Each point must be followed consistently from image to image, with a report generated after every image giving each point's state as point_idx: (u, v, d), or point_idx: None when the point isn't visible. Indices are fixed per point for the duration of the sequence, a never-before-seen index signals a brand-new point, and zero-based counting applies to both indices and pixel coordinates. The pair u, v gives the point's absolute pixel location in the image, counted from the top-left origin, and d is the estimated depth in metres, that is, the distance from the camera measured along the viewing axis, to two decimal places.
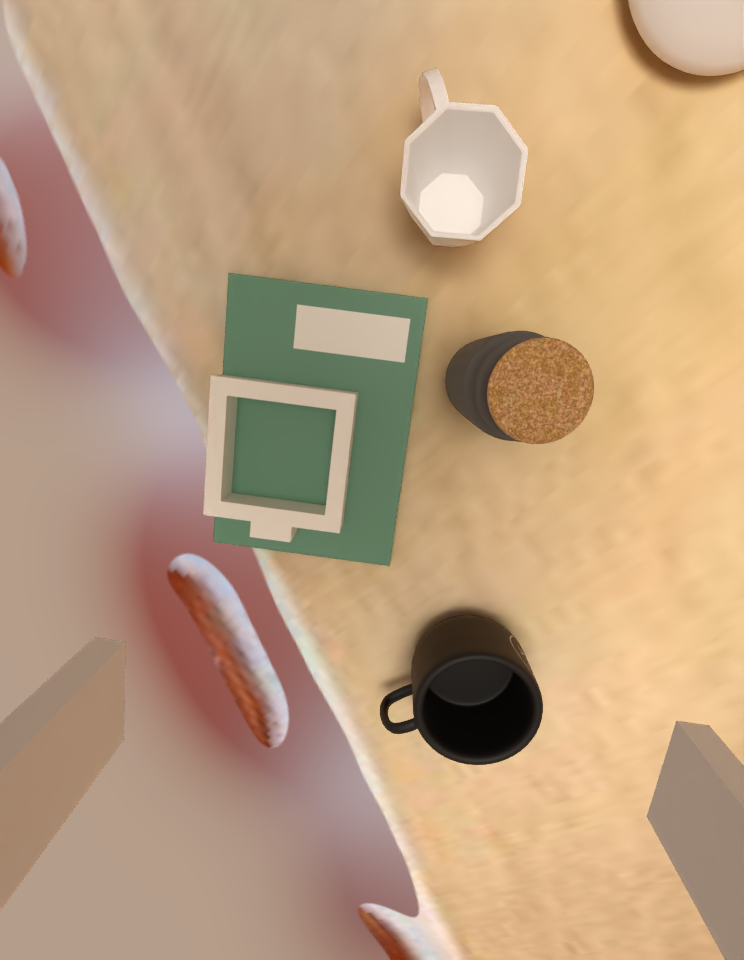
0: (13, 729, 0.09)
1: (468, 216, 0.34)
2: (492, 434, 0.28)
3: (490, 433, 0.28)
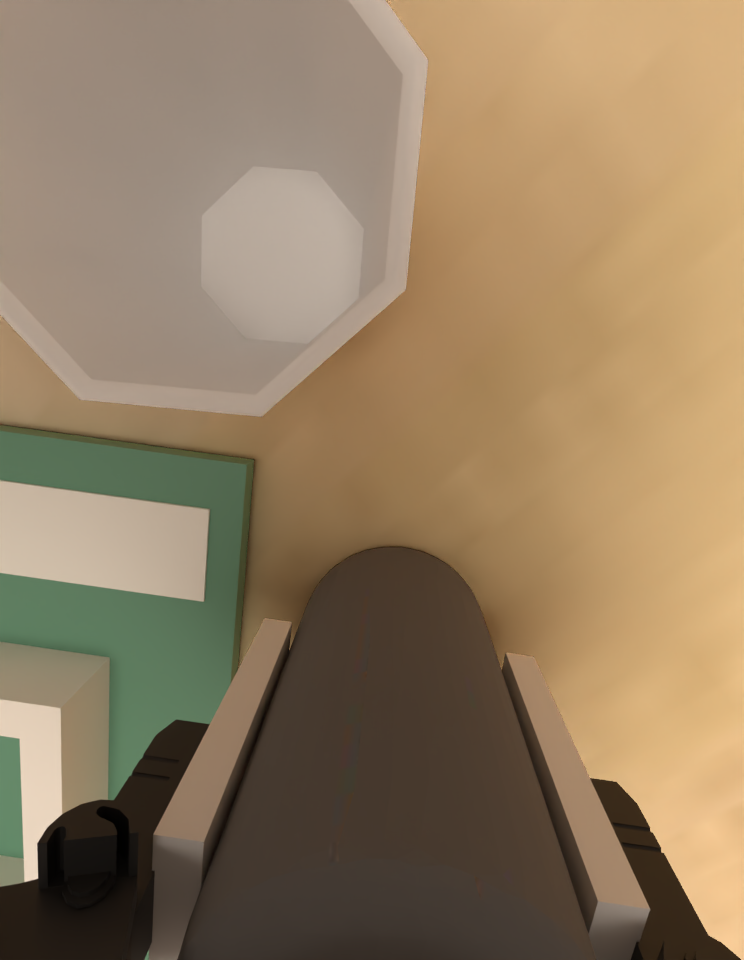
0: (243, 689, 0.11)
1: (327, 277, 0.13)
2: None
3: None
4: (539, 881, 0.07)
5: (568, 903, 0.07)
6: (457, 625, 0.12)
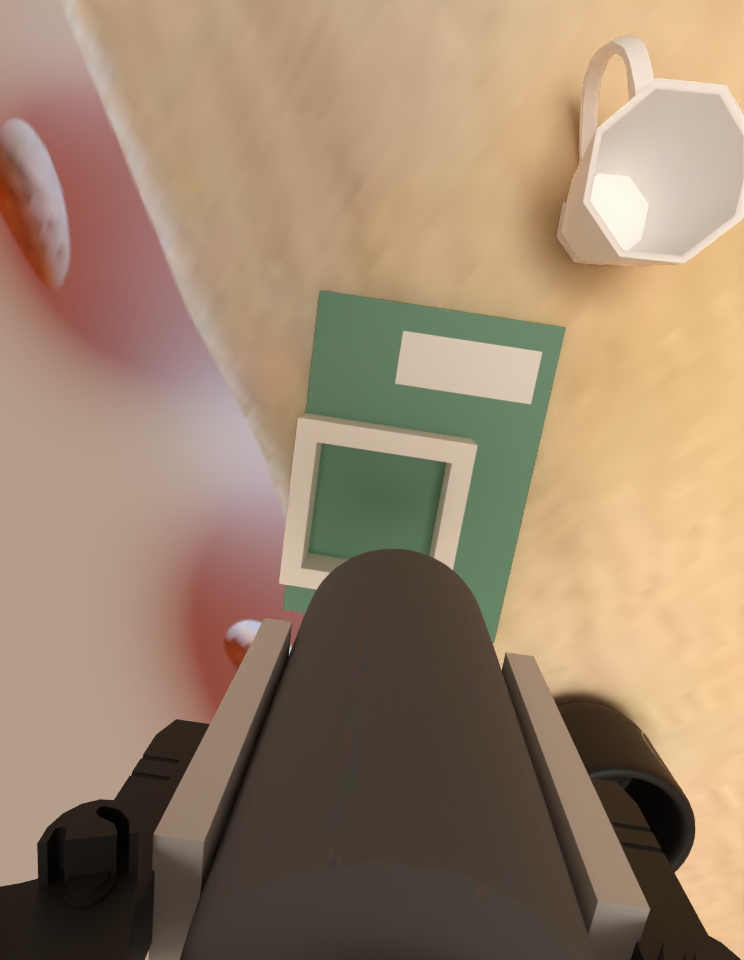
0: (243, 689, 0.11)
1: (627, 228, 0.27)
2: None
3: None
4: (540, 884, 0.07)
5: (568, 906, 0.07)
6: (457, 627, 0.12)
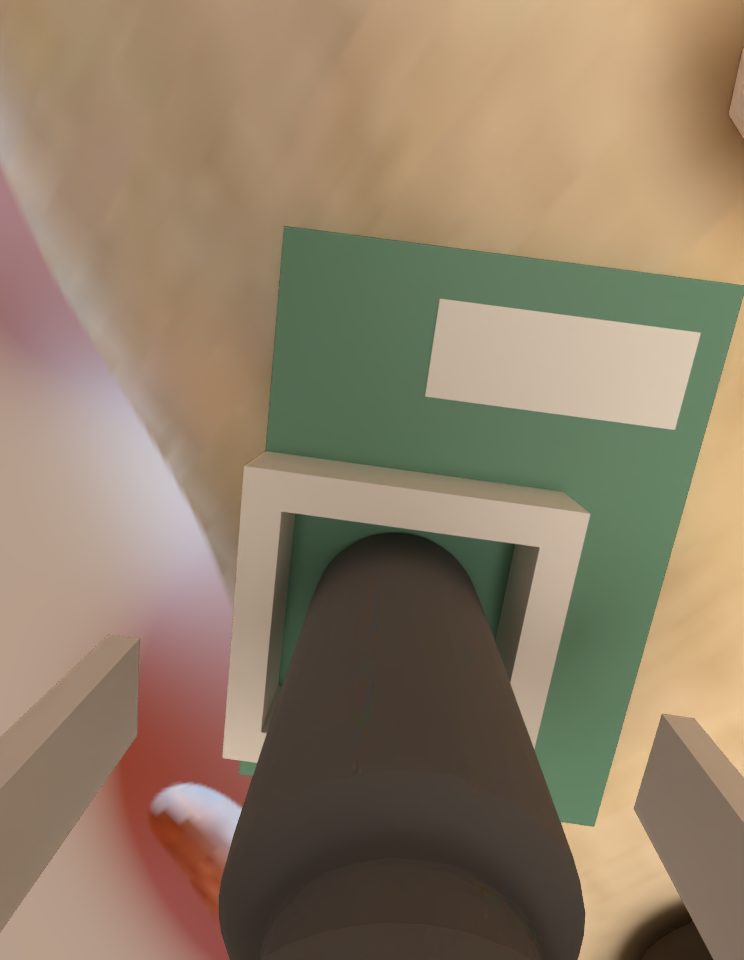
0: (33, 723, 0.09)
1: None
2: None
3: None
4: (525, 791, 0.08)
5: (549, 811, 0.08)
6: (454, 599, 0.14)
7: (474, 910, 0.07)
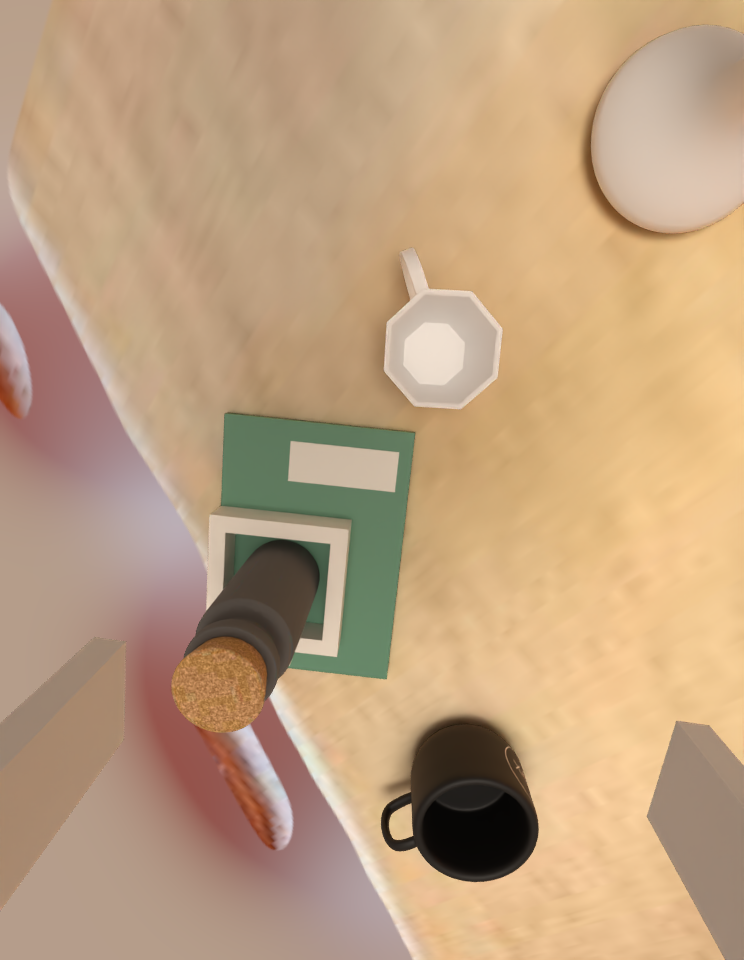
0: (13, 729, 0.09)
1: (451, 360, 0.36)
2: None
3: None
4: (275, 606, 0.30)
5: (284, 613, 0.30)
6: (289, 564, 0.35)
7: None
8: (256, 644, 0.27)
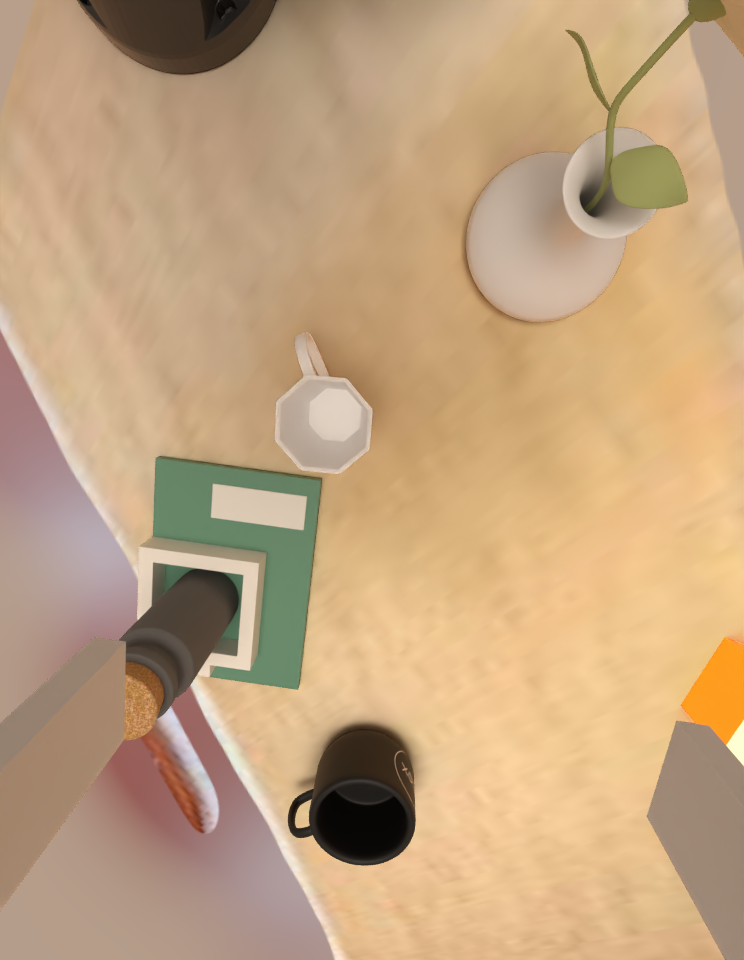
0: (13, 729, 0.09)
1: (349, 421, 0.41)
2: None
3: None
4: (180, 634, 0.35)
5: (187, 640, 0.36)
6: (204, 592, 0.41)
7: (156, 651, 0.34)
8: (155, 669, 0.33)
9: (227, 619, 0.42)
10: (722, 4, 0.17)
